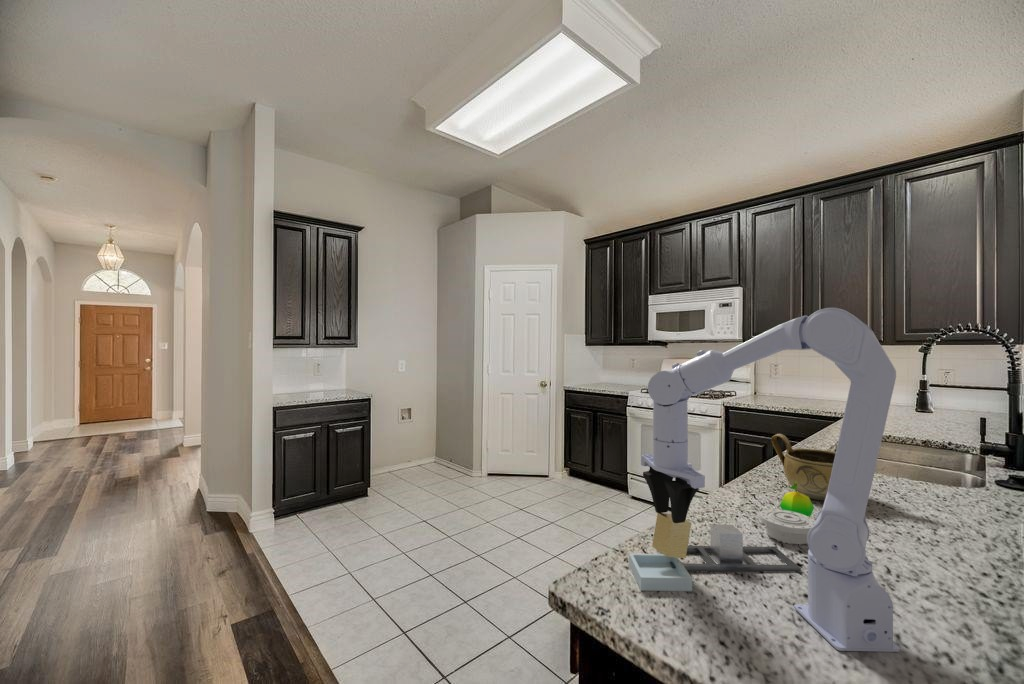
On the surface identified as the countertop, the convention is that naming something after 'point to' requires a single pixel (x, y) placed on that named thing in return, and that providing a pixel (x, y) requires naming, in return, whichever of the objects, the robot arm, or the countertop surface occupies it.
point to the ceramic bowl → (806, 468)
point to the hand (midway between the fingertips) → (670, 516)
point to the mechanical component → (787, 525)
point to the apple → (797, 502)
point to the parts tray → (659, 573)
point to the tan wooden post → (671, 536)
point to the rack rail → (747, 567)
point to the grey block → (726, 544)
